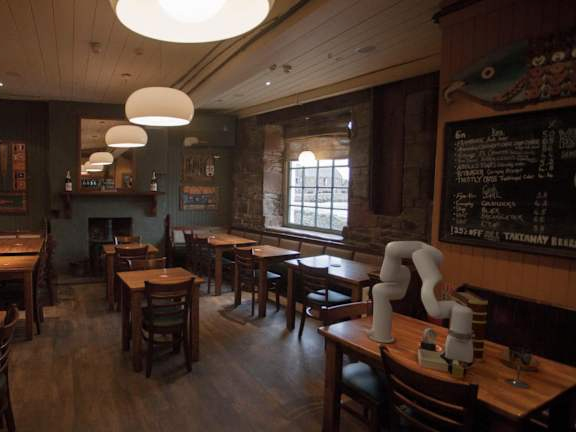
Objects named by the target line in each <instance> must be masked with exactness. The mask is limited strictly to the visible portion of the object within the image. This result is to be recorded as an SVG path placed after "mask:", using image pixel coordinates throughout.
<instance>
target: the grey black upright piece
mask: <svg viewBox="0 0 576 432" xmlns="http://www.w3.org/2000/svg"><path fill="white" fill-rule="evenodd" d="M427 336H429V339H428V337H427ZM437 336H438V332H437V331H436V330H435V329H434V328H431V327H426V328H424V330H423V331H422V341H420V347H419V349H421V350H427V351H433V352H436V350H437V344H436V343H434V342H435V340H436V338H437Z"/></svg>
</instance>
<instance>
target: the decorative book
mask: <svg viewBox="0 0 576 432" xmlns="http://www.w3.org/2000/svg"><path fill="white" fill-rule="evenodd" d="M449 301H454V302H456V303H458V304H460V305H461V306H464V307H468V308H470V309H471V310H472V311H473V317H472V328H471V329H472V330H473V331H474V333H475V337H472V338H471V339H472V342H473V356H474V357H475V359H476V360H477V362H478V363H480V362H484V360H485V359H484V351H485V342H486V339H485V332H486V324H487V320H486V319H487V315H488V312H487V308H488V307H487V306H488V305H489V301H488V300H486V299H485V298H482V297H480V296H478V295H477V294H475V293H473V292H471V291H469V290H467V289H465V292H458V291H456V290H454V289H451V290H450V300H449ZM450 327H451V318H448V332H447V335H448V334H450Z"/></svg>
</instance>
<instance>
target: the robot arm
mask: <svg viewBox="0 0 576 432" xmlns="http://www.w3.org/2000/svg"><path fill="white" fill-rule="evenodd" d="M406 258H408V259H409V258H411V259H412V262H413V264H414V266H415V268H416V270H417V273H418V275H419V277H420V279H421V281H422V286H421V289H420V297H421V298H420V299H421V302H422V304H423V306H424V308H425V310H426V312H427V314H428V316H430V317H431V318H433V319H437V320H442V319H449V318H451V327H450V334H448V333H447V336H446V339H445V343H444V349H443V351H442V352H440V353H441V354H440V357H441V358H442V359H444V360H445V361H446V362H447V363H448V371H449V372H448V373H449V375H450V376H452V370H453V366H452V362H453V360H458V361H462V363H463V364H462V366H463V369H464V373H463V378H465V377H466V375H468V369H469V368H470V367H472V366H473V365H477V364H478V363H479V362H477V360H476V359H475V357H474V356H473V342H472V339H471V338H472V337H475V334H472V333H471V328H472V317H473V311H472V310H471V309H470V308H468V307H464V306H461V305H460V304H458V303H456V302H454V301H450V300H440V301H439V300H437V299H436V295H435V293H434V290H435V289H434V288H435V286H436V285H437V284H439V283H440V282H442V280H443V275H442V273H441V271H440V269H439V267H438V266H441V265H442V264H443V263H444V260H445V257H444V254H443V253H442V251H440V250H439V249H438V248H437V247H434V246H432V245H430V244H428V243H425V242H423V241H421V240H401V241H391V242H389V243H387V244H386V246H385V250H384V258H383V262H382V265H381V269H380V272H379V279H380V281H381V282H379V283H376V284H375V285H373V286H372V290H371V291H372V292H371V293H372V300H373V302H372V303H373V309H372V310H373V311H372V327H371V328H370V329H367V328H363V333H365V334H367V335H368V337H369V339H370V340H372V341H374V342H377V343H381V344H391V343H394V342H395V337H394V336H392V331H393V330H392V328H393V327H392V326H393V307H392V304H391V302H390V301H396V300H402V299H403V298H405V296H406V294H407V292H408V291H407V290H408V288H409V284H410V282H411V276H412V274H411V271H410V268H409V267H407V266H406V265H405V264H404V265H403V264H402V262H403V261H402V259H406ZM445 355H446V357H447V358H448V359H447V358H446V357H445Z"/></svg>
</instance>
